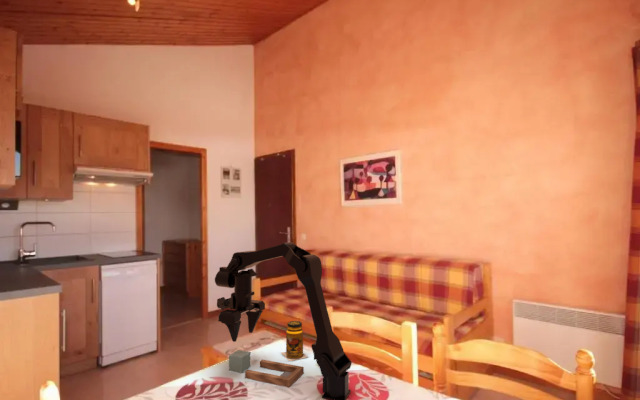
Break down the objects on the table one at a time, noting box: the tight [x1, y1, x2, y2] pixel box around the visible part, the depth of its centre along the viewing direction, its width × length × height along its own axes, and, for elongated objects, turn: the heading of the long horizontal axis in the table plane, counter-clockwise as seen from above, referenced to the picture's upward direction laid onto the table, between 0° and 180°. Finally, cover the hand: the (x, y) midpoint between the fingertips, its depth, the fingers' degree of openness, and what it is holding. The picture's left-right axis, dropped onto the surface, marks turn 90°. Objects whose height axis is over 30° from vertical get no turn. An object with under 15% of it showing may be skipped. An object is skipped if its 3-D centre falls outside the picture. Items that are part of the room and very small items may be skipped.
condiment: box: [280, 320, 309, 362], centre depth 127 cm, size 7×8×12 cm
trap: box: [279, 371, 292, 377], centre depth 109 cm, size 4×6×1 cm, turn 157°
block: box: [228, 349, 251, 374], centre depth 116 cm, size 5×5×5 cm
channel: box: [244, 358, 305, 388], centre depth 111 cm, size 16×10×2 cm, turn 67°
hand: (242, 336), depth 116 cm, fingers open, 9 cm apart
